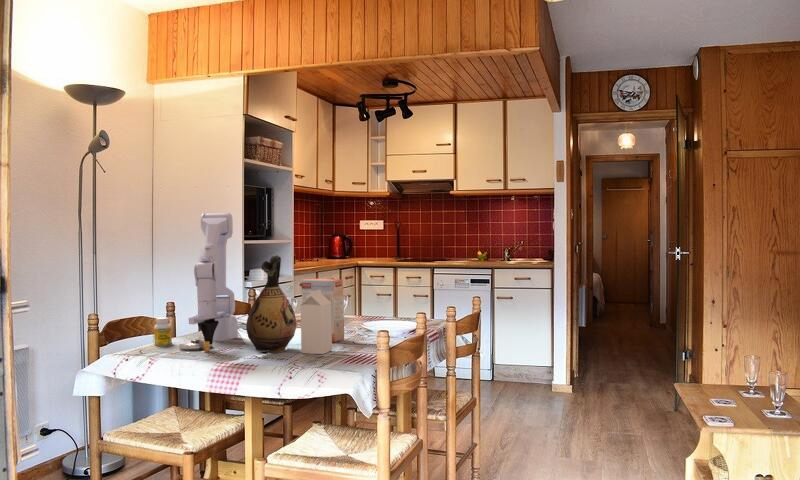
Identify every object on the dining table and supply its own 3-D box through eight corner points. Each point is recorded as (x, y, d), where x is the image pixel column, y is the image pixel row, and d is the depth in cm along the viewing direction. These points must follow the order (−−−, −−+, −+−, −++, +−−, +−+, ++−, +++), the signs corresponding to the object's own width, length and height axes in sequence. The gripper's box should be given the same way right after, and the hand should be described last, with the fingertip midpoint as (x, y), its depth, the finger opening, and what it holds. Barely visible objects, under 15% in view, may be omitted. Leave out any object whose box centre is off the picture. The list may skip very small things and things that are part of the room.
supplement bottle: (169, 344, 225) (168, 316, 225) (173, 347, 221) (172, 318, 220) (152, 346, 222) (151, 318, 222) (156, 349, 218) (155, 319, 217)
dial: (174, 347, 214) (174, 337, 213) (205, 343, 220) (205, 334, 220) (191, 354, 202) (191, 343, 202) (223, 349, 208) (222, 339, 208)
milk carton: (332, 350, 209) (330, 290, 209) (322, 354, 203) (321, 292, 202) (311, 349, 212) (310, 289, 211) (301, 353, 205) (299, 292, 204)
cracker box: (345, 340, 228) (344, 278, 227) (334, 343, 223) (333, 280, 222) (313, 337, 235) (312, 277, 235) (302, 339, 230) (300, 279, 230)
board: (196, 343, 226) (196, 340, 226) (241, 348, 217) (241, 344, 217) (148, 354, 209) (148, 350, 209) (195, 359, 199) (195, 355, 199)
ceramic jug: (290, 355, 203) (288, 256, 202) (240, 355, 204) (238, 257, 203) (302, 345, 220) (300, 254, 219) (256, 345, 221) (254, 254, 220)
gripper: (212, 297, 216) (214, 339, 216) (180, 303, 203) (181, 347, 203) (230, 298, 213) (231, 340, 213) (198, 303, 200) (199, 348, 200)
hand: (208, 344), depth 208 cm, fingers closed, pressing on dial
